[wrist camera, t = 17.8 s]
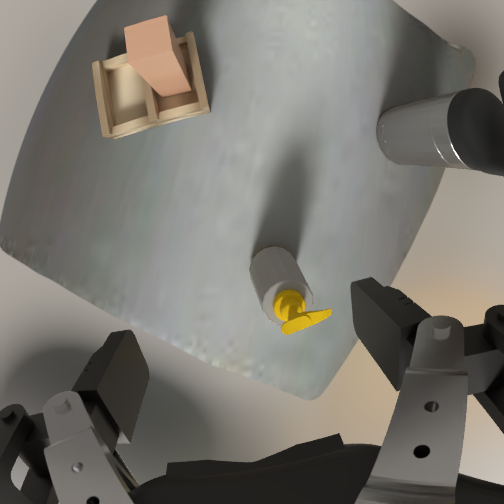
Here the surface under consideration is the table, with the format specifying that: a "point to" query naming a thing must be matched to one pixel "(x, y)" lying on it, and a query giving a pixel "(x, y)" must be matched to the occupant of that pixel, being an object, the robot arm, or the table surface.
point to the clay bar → (157, 56)
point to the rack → (145, 95)
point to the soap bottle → (283, 290)
